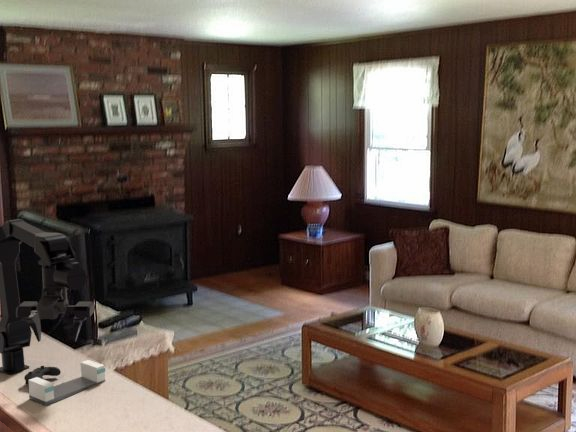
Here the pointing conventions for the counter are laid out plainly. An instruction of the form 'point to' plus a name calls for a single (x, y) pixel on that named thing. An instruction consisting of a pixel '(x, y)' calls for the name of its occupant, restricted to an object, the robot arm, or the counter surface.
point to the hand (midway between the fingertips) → (57, 341)
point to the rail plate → (68, 389)
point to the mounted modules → (46, 389)
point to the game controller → (42, 373)
